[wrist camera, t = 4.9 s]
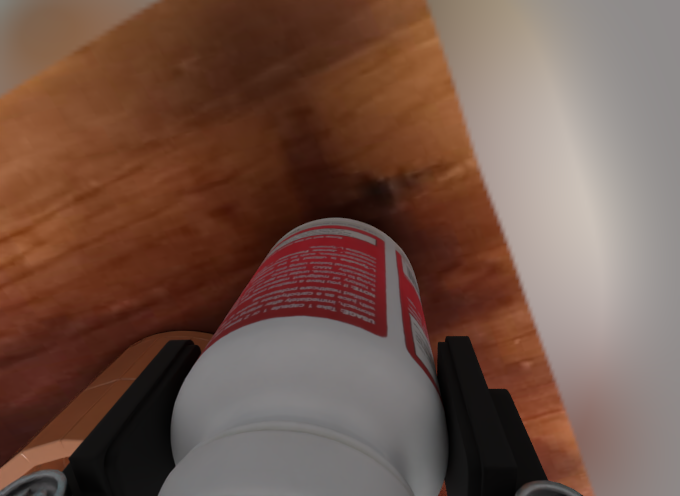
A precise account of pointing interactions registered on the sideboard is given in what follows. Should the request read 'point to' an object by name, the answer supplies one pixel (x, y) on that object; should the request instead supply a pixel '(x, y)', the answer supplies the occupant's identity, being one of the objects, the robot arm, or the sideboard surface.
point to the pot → (88, 408)
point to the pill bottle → (316, 379)
